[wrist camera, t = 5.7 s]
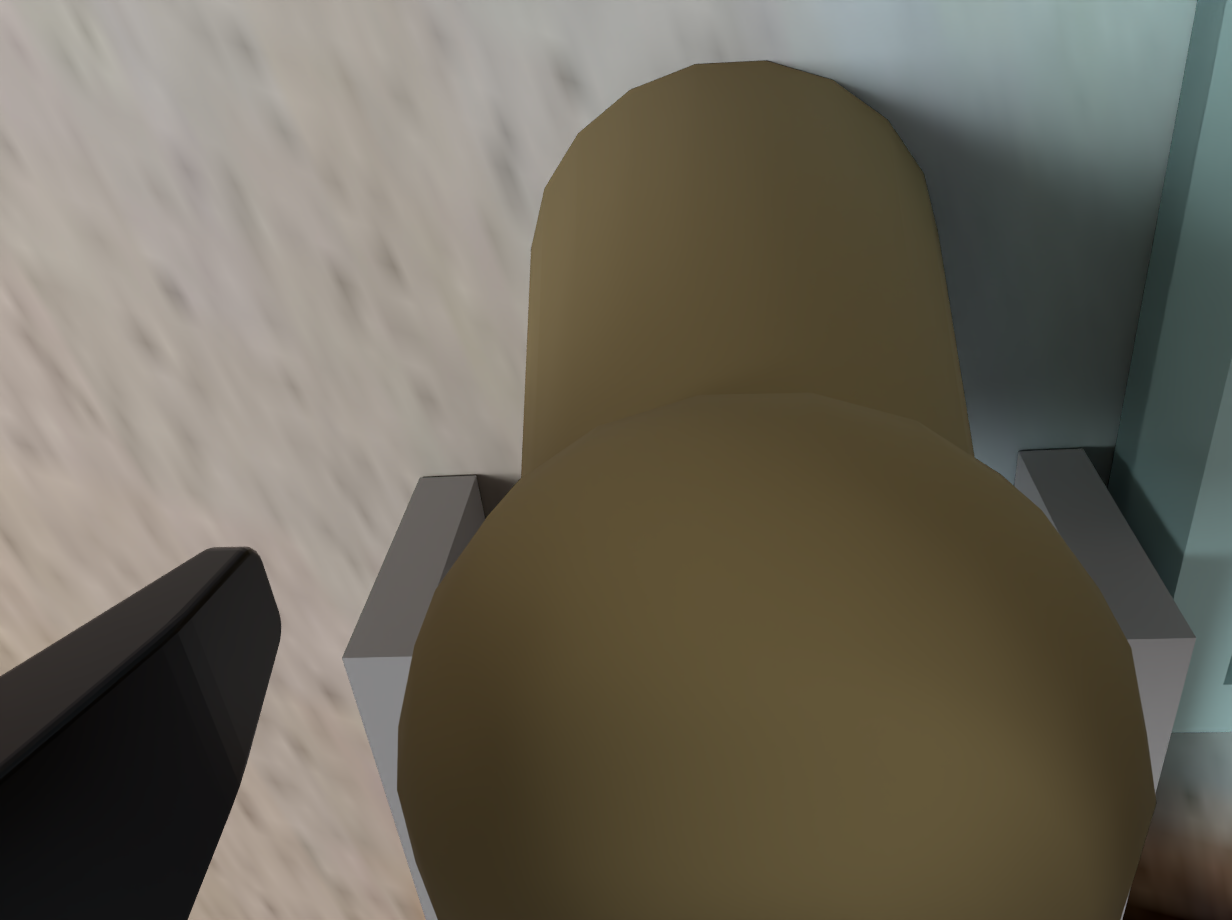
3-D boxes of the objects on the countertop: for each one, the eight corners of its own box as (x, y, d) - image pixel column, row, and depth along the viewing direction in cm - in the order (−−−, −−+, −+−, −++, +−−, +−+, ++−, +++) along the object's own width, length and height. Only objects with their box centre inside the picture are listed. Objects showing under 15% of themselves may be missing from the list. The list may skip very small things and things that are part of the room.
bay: (1009, 894, 22) (1098, 1207, 17) (518, 892, 24) (468, 1183, 19) (1083, 448, 16) (1250, 729, 11) (419, 477, 18) (305, 742, 13)
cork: (654, 497, 18) (597, 1256, 8) (452, 196, 15) (43, 806, 6) (999, 345, 16) (1428, 1117, 6) (833, -32, 13) (1149, 335, 4)
